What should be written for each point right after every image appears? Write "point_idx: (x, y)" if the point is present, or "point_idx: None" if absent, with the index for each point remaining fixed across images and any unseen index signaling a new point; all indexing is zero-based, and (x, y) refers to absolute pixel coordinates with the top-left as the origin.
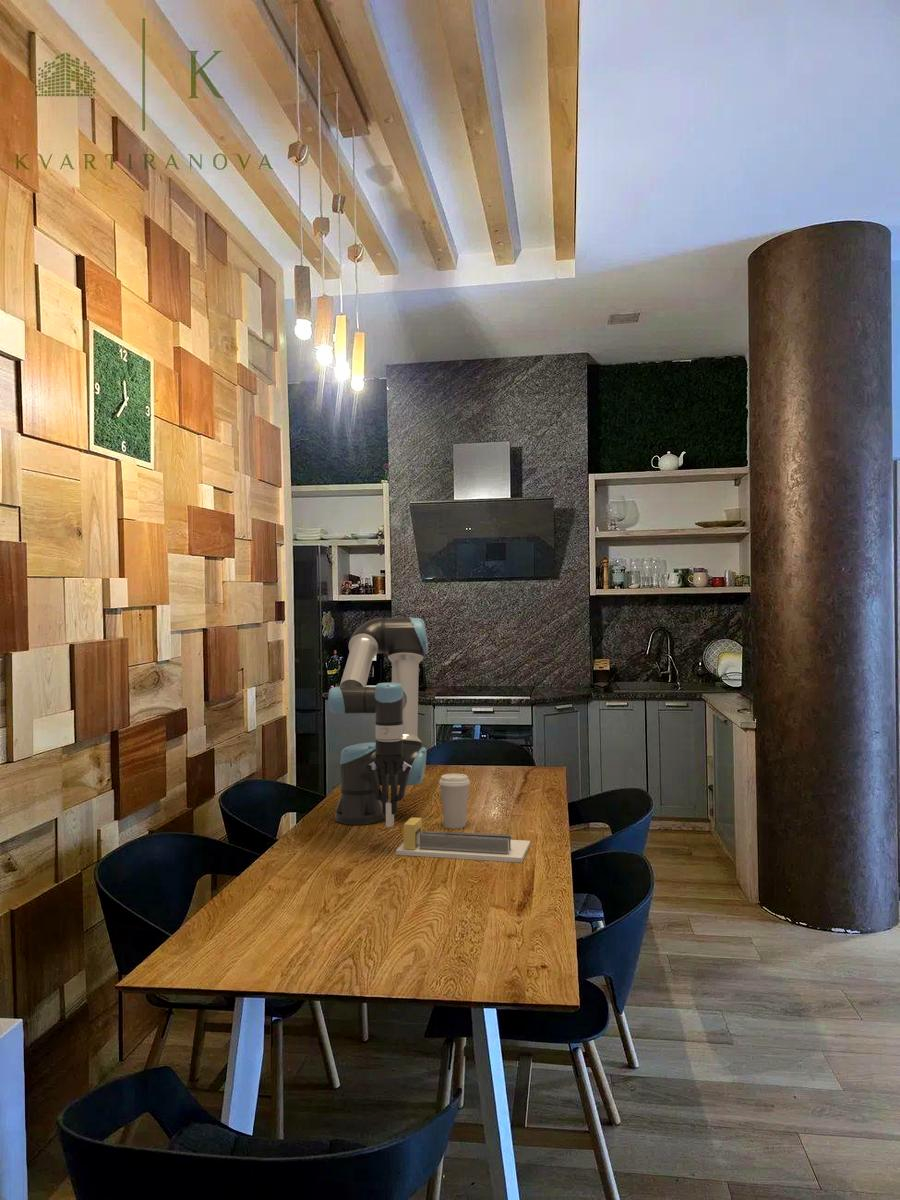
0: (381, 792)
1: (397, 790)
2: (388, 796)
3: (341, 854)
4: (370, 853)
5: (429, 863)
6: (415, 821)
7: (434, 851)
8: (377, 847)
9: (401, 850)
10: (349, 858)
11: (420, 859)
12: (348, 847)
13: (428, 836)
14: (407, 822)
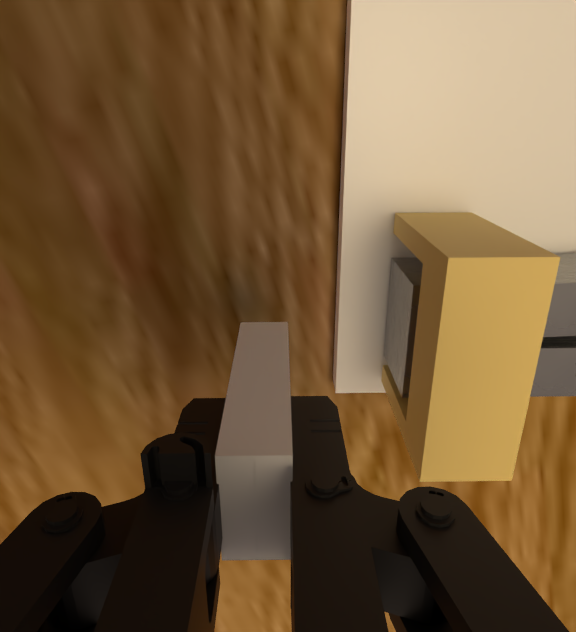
0: (64, 572)
1: (382, 612)
2: (209, 520)
3: (42, 427)
4: (185, 383)
5: (530, 466)
6: (508, 384)
7: None
8: (177, 270)
9: (368, 391)
10: (117, 473)
11: None
12: (5, 306)
13: (571, 392)
14: (440, 426)
